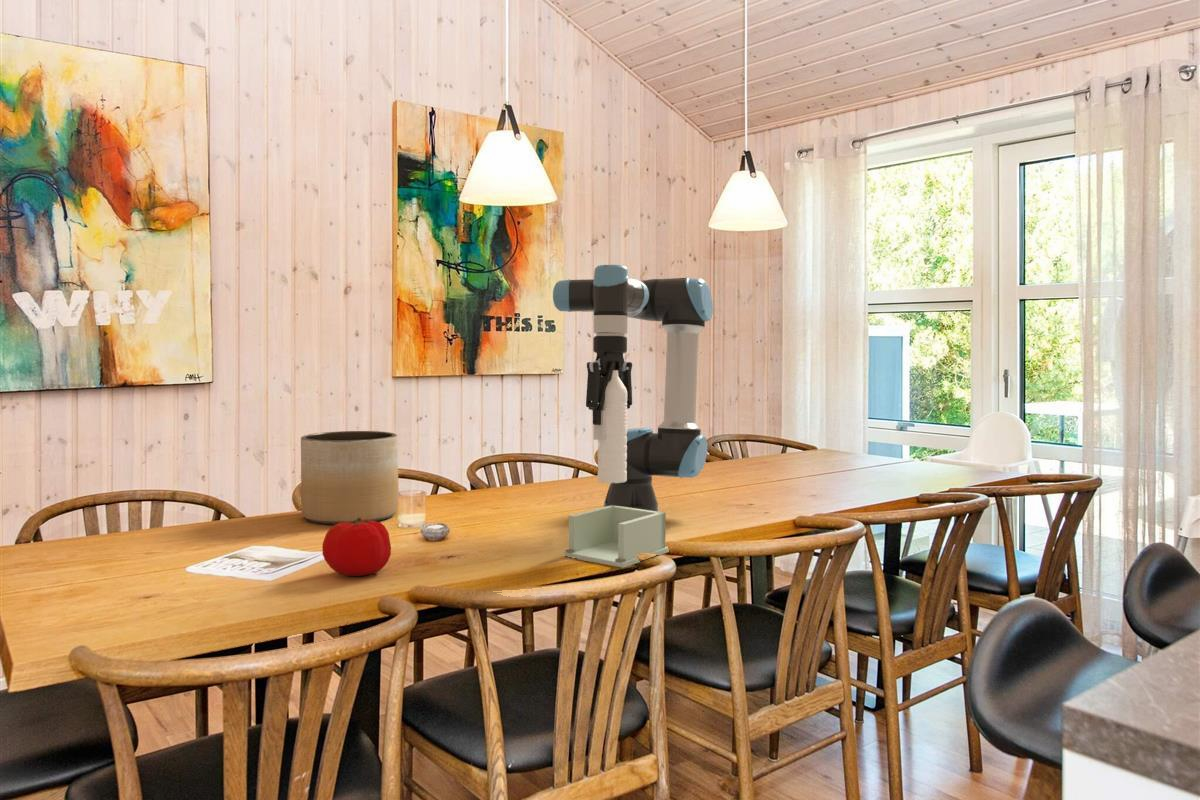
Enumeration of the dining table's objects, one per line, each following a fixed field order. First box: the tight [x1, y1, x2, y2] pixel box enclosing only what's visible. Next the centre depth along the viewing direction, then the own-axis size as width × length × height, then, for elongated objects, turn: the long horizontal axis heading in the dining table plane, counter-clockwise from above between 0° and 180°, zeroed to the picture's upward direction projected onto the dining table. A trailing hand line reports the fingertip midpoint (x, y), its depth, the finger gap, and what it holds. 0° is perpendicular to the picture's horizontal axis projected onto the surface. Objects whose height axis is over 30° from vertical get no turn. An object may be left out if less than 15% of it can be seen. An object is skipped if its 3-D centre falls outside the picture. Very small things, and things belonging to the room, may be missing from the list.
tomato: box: [321, 518, 392, 577], centre depth 178 cm, size 12×13×12 cm
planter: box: [300, 430, 400, 525], centre depth 237 cm, size 25×25×22 cm
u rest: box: [563, 505, 669, 569], centre depth 196 cm, size 18×16×9 cm
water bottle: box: [597, 370, 628, 484], centre depth 197 cm, size 9×6×25 cm
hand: (609, 438), depth 196 cm, fingers closed on water bottle, 6 cm apart
